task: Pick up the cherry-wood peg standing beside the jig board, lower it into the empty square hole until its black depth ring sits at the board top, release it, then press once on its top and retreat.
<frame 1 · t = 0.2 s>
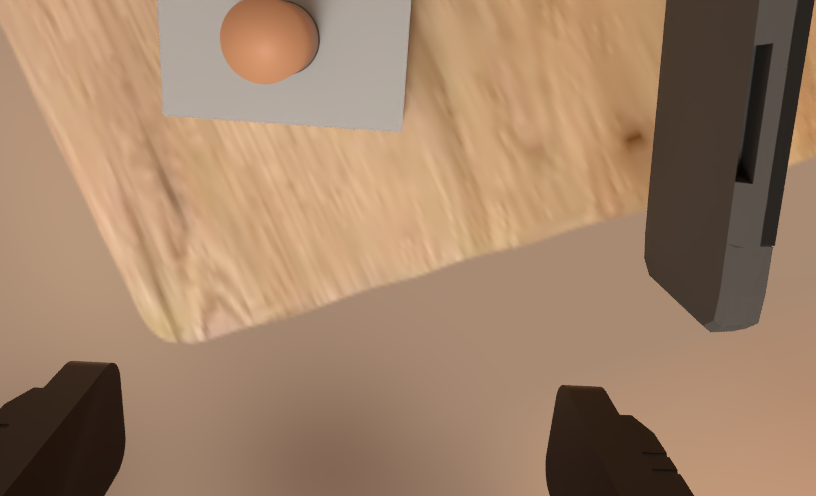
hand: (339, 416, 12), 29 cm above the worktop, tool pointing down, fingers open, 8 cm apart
handheld gaming console: (677, 92, 39), on the worktop
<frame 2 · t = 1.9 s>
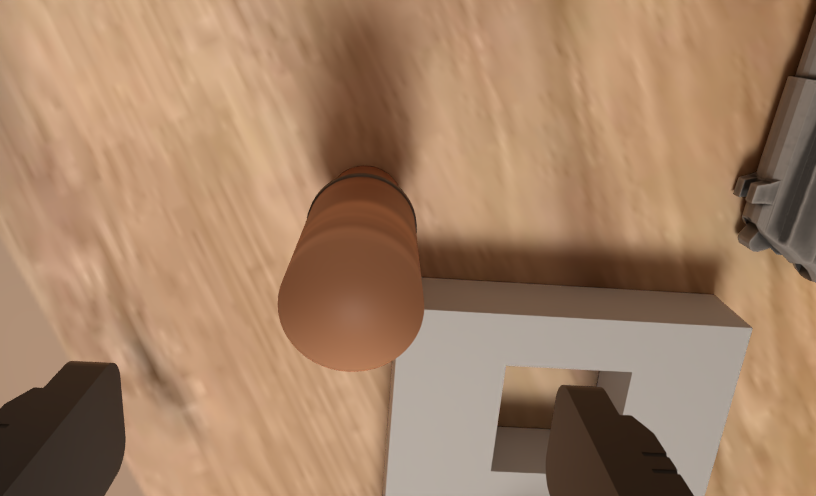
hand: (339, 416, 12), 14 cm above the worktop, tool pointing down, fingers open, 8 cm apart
jig board: (527, 467, 29), on the worktop
cherry peg: (365, 201, 25), on the worktop
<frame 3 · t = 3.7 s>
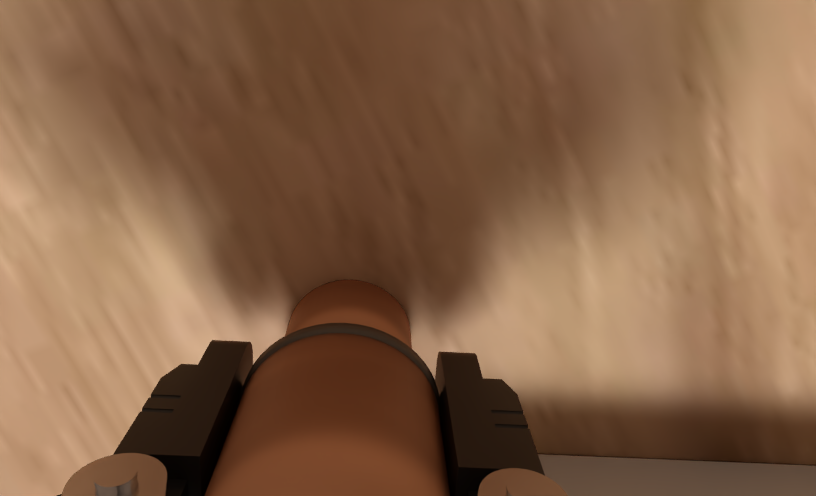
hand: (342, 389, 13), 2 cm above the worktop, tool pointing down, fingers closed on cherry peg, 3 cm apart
cherry peg: (349, 336, 15), on the worktop, touching gripper
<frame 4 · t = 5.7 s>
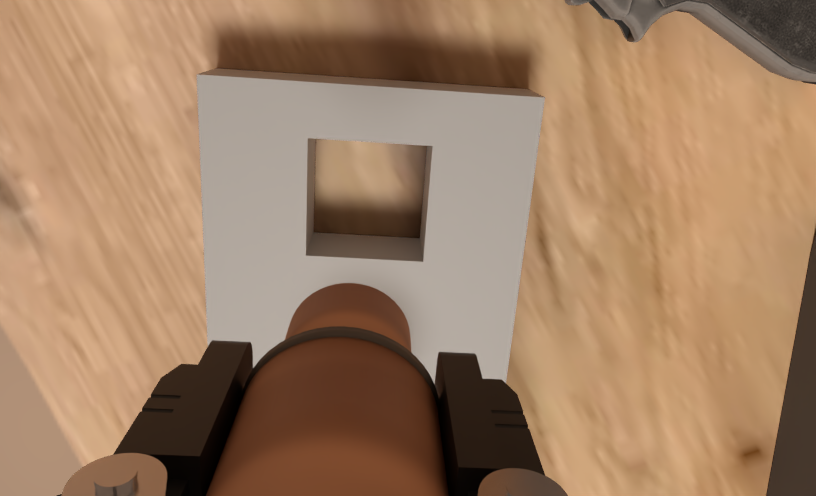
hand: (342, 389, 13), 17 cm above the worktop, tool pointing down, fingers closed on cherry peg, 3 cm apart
handheld gaming console: (803, 405, 33), on the worktop
jig board: (364, 278, 30), on the worktop
cherry peg: (349, 339, 15), point 14 cm above the worktop, touching gripper
when the fingers open (3 cm above the worktop, at t = 8.0 s): cherry peg drops 1 cm, resting in jig board.
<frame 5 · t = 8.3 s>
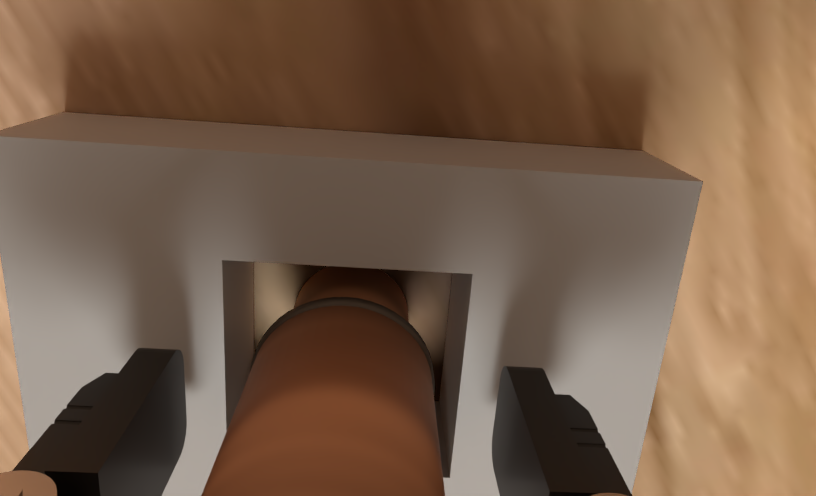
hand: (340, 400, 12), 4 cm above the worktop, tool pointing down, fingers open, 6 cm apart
jig board: (344, 464, 17), on the worktop
cherry peg: (351, 315, 16), resting in jig board
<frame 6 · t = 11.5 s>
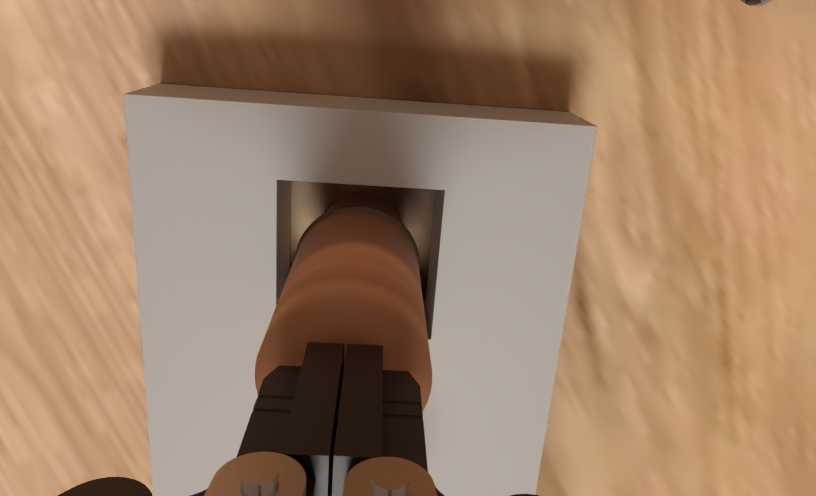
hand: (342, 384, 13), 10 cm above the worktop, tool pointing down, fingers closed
jig board: (355, 349, 24), on the worktop
cherry peg: (361, 233, 22), resting in jig board
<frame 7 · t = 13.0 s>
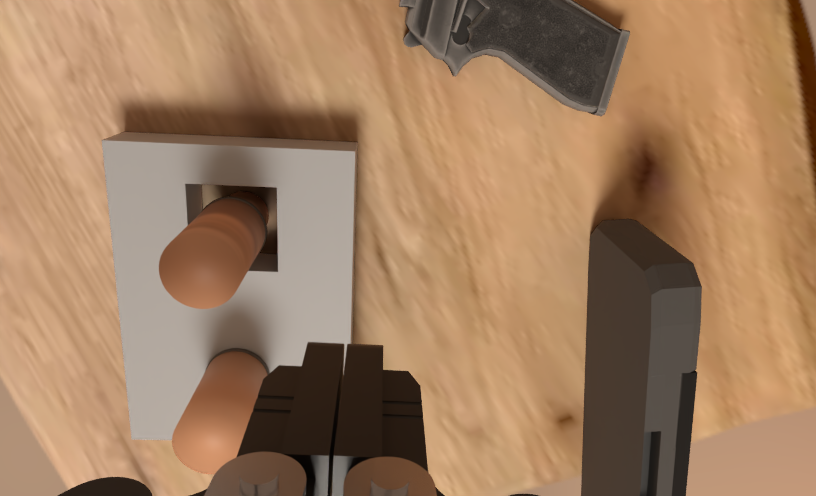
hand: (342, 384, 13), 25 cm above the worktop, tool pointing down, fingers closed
handheld gaming console: (603, 380, 42), on the worktop
jig board: (246, 285, 39), on the worktop
cherry peg: (244, 214, 38), resting in jig board
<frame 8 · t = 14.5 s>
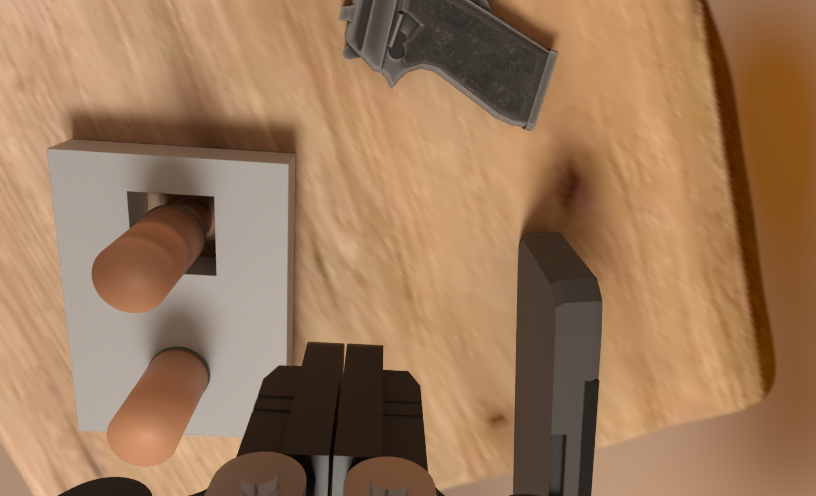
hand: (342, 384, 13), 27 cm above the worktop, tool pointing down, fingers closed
handheld gaming console: (533, 383, 45), on the worktop
jig board: (191, 286, 41), on the worktop
cherry peg: (188, 219, 40), resting in jig board
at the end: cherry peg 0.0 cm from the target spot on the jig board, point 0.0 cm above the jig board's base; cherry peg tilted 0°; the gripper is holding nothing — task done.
